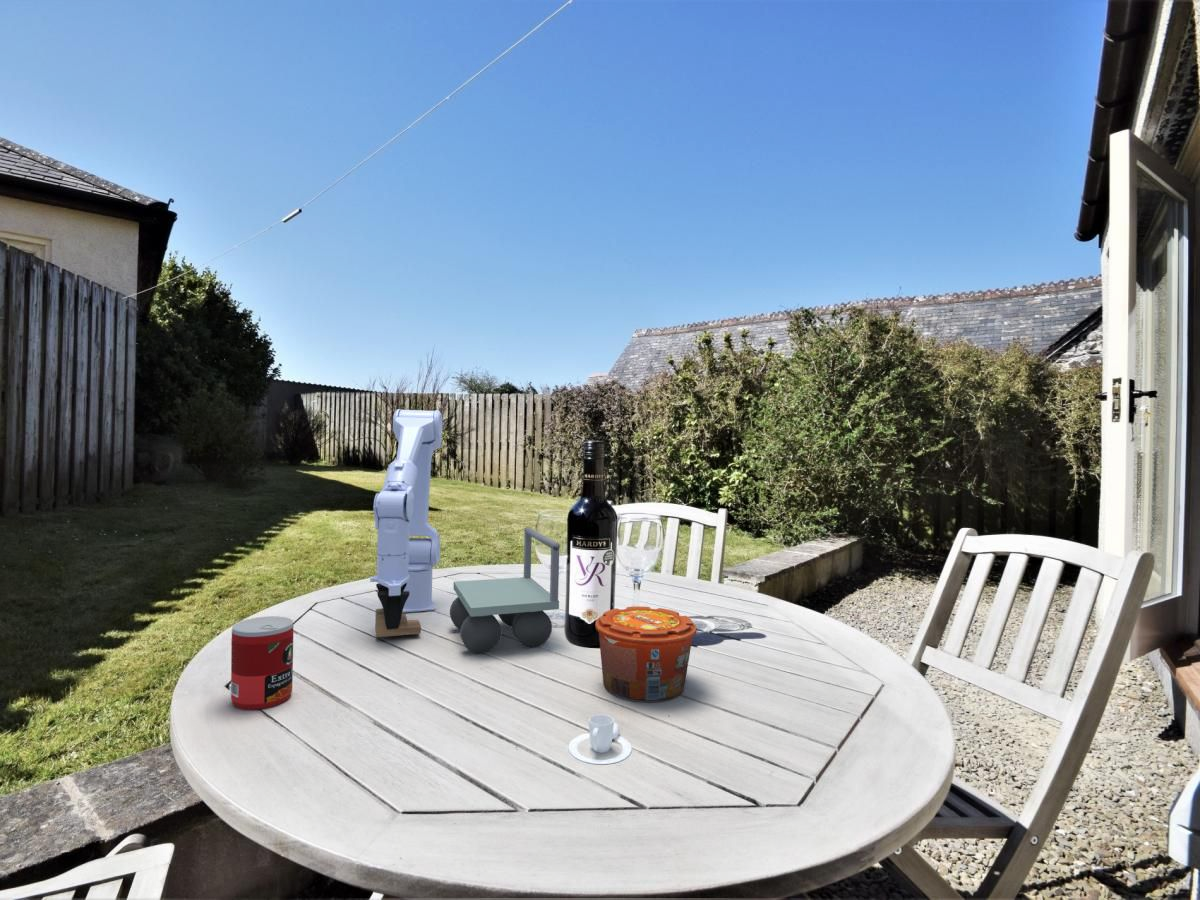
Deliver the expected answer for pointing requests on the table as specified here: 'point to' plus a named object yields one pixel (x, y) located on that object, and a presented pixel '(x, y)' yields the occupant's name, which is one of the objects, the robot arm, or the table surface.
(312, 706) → the table surface
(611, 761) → the teacup and saucer
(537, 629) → the trolley
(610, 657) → the food container
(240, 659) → the canned food
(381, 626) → the block
